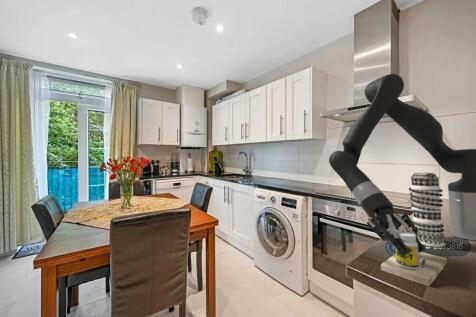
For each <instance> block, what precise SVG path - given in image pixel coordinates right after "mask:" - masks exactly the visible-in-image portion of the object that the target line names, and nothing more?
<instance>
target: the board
mask: <svg viewBox="0 0 476 317" xmlns="http://www.w3.org/2000/svg"><path fill="white" fill-rule="evenodd" d="M418 257H419V268H418V269H408V268H404V267H401V266H399V265H398V264H397V263H396V253H394V254H393V255H392V256H391V257H389V258H388V259H387V260H385V261H383V262H382V263H381V264H380V270H381V271H384V272H386V273H389V274H392V275H394V276H398V277H400V278H403V279H406V280H409V281H412V282H416V283H418V284H421V285H425V286H426V287H430V286H431V285H432V284H433V282H435V280H436V278H437V277H438V275H439V274H440V273H441V272H442V271H441V270H444V268H445V267H446V265H447V264H448V262H447V260H448V259H447V257H443V256H440V255H435V254H431V253H426V252H424V251H422V252H420V253H418ZM444 266H445V267H444Z"/></svg>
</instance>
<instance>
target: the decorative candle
mask: <svg viewBox="0 0 476 317" xmlns="http://www.w3.org/2000/svg"><path fill="white" fill-rule="evenodd" d="M410 178H411V179H410V181H411V185H410V187H409V188H408V190H409V192H410V193H409V196H410V197H409V200H410V201H411V202H410V205H411V209H412V213H413V215H412V222H413V224H414V225H415V227H416V228H417V230H418V231H419V232H418V233H416V237H417V239H418V240H419V241H420V242H421V243H422V244H423V246H428V247H434V248H436V247H438V248H440V247H445V245H446V243H445V241H446V240H445V238H444V237H445V234H444V231H445V230H444V224H443V219H442V212H443V209H442V207H444V204H442V203H443V202H444V200H443V199H440V197H443V196H444V194H442V193H443V192H444V190H443V189H442V188H441V186H440V179H439V178H440V177H439V176H437V174H436V173H434V172H414V173H413V174H412V175H411V176H410Z"/></svg>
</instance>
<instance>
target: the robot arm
mask: <svg viewBox="0 0 476 317" xmlns="http://www.w3.org/2000/svg"><path fill="white" fill-rule="evenodd" d="M404 82H405V81H404V80H403V78H402V76H400V75H398V74H396V73H388V74H385V75H383V76H381V77H379V78H377V79H375V80H372V81H371V82H369V83H368V84H367V85H366V86H365V88H364V96H365V98H366V99H367V101H368V102H369V103H370V105H369V106H368V107H367V109H366V110H365V111H364V112H363V113H362V114H361V115H360V116H359V117H358V118H357V119H356V120H355V121H354V123H353V124H352V126H351V127H349V130H348V132H347V134H346V135H345V137H344V139H343V141H342V147H343V150H335V151H333V152H332V153H331V154H330V155H329V157H328V163H329V166H330V167H331V168H332V169H333V171H334V172H335V173H336V174H337V175H338V176H339V177H340V178H341V180H343V182H344V183H345V185H346V186H347V188H348V189H349V191H350V192H351V193H352V195H353V197H354V199H355V201H357V203H358V204H359V206H360V207H361V208H362V209H363V211H364V212H365V214H366V215H367V216H368V218H370V219H369V220H368V221H367V222H366V224H367V226H368V227H369V228H370V229H371V230H372V231H373V232H374V233H375V234H376V235H377V236H378V237H379V238H380V239H381V240H382V241H383V242H385V241H387V242H390V243H391V244H392V245H393V247H394V249H395V250H396V249H397V250H398V252H400V253H401V254H402V255H403V256H404V255H407V254H409V253H410V250H409V249H408V248H407V247H406V245H405V244H404V243H403V242H402V240H401V239H400V238H399V239H398V235H397V232H409V233H413V234H415V235H416V233H418V232H419V231H418V230H417V228H416V227H415V225H414V224H413V222H412V221H413V219H411V217H410V216H409V215H408V214H407V213H404V214H399V213H397V212H396V211H395V210H394V204H393V203H392V201H391V200H390V199H389V198H388V197H387V195H385V193H384V192H383V191H382V190H381V189H380V188H379V187H378V186H377V185H376V184H375V183H374V182H373V181H372V180H371V179H370V178H369V176H367V174H366V173H365V172H363V171H362V170H361V169H360V168H359V167H358V164H359V160H360V157H361V156H362V150H363V148H364V147H365V145H366V143H367V141H368V140H369V138H370V136H371V134H372V132H374V130H375V128H376V126H377V125H378V123H379V122H380V121H381V119H382V118H383V117H384V116H385V115H387V116H388V117H389V118H391V120H393V121H394V123H396V124H397V125H398V126H399V127H401V128H402V129H403V131H405V132H406V134H408V135H409V136H410V138H413V140H415V142H417V143H418V144H419V145H421V147H422V148H424V149H425V151H427V153H429V154H430V155H431V157H432V158H433V159H434V160H435V161H436V163H437V164H438V165H439V166H440V167H441V168H442V169H443V170H444V171H445V172H448V173H451V174H461V176H460V178H459V180H457V181H452V182H450V183H448V184H447V190H448V192H447V193H448V204H449V217H450V218H449V220H450V234H451V236H454V237H456V238H460V239H464V240H468V241H469V240H471V241H476V148H465V149H464V148H463V149H453V148H451V147H449V146H448V145H447V143H445V141H444V140H443V138H444V137H443V136H444V134H443V133H444V132H443V131H444V129H443V126H442V124H441V123H440V121H438V120H437V119H436V118H435V117H434V116H433V115H432V114H431V113H430V112H428V111H426V110H424V109H421V108H420V107H417V106H414V105H411V104H408V103H406V102H404V101H402V100H401V99H399V97H400V96H401V94H402V93H403V90H404V87H405V85H404ZM415 242H417V244H418V253H420V252H424V251H425V250H426V247H425V245H423V244H422V243H421V242H420V241H419V240H418V239H417V237H416V241H415Z"/></svg>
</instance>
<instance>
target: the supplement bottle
mask: <svg viewBox="0 0 476 317" xmlns="http://www.w3.org/2000/svg"><path fill="white" fill-rule="evenodd" d="M396 233H397V235H398V239H399V238H400V239H401V240H402V242H403V243H404V244H405V245H406V247H407V248H408V249H409V250H410V253H409V254H407V255H404V256H403V255H402V254H401V253H400V252H398V250H397V249H396V248H395V254H396V263H397V264H398V265H399V266H401V267H404V268H408V269H418V268H419V257H418V244H417V242H415V241H416V235H415V234H413V233H409V232H406V231H404V232H396Z"/></svg>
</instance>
